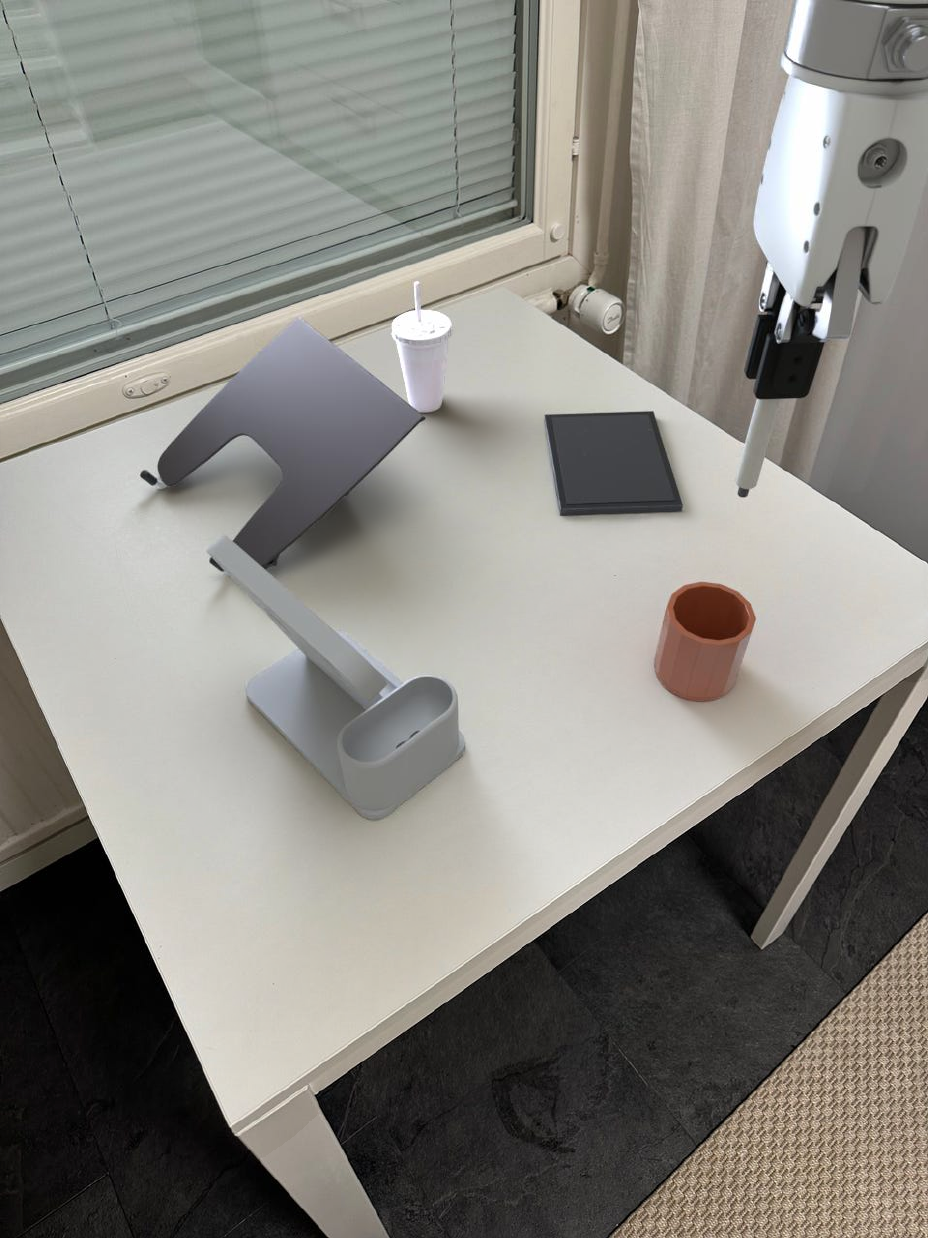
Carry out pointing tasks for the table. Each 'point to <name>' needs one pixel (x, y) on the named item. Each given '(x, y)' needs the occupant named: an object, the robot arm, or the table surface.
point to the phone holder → (347, 701)
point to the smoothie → (423, 354)
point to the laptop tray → (295, 433)
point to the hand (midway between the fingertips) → (775, 384)
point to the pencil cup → (703, 640)
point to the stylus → (757, 441)
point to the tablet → (610, 464)
